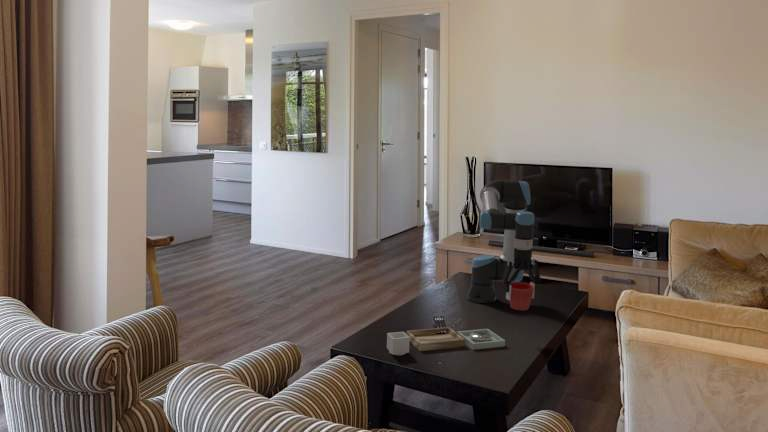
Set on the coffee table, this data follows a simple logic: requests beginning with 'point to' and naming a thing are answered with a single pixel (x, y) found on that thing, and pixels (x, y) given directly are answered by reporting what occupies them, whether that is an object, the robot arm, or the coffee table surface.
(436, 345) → the wooden tray
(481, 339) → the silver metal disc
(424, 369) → the coffee table surface
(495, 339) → the pale green square tray
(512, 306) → the flower pot
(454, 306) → the coffee table surface
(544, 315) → the coffee table surface
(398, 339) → the white faceted planter
